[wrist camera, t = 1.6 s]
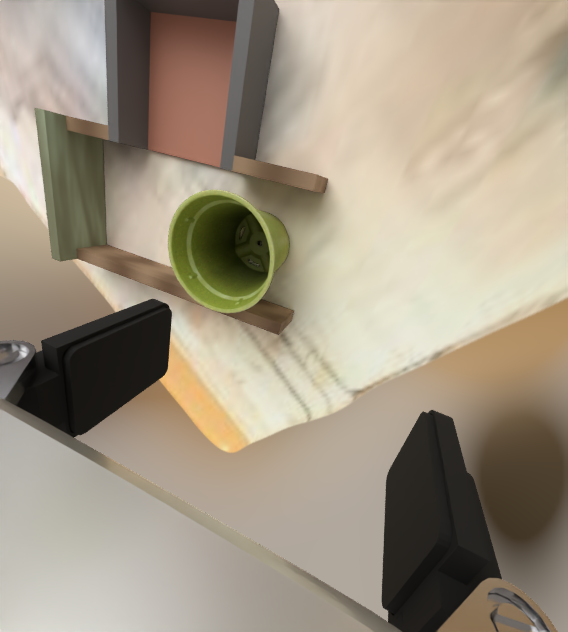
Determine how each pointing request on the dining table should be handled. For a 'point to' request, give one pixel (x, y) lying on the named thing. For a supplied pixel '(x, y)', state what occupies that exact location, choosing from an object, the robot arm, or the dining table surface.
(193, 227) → the plant pot
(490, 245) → the dining table surface
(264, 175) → the lane
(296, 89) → the dining table surface
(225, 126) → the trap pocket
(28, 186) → the dining table surface
